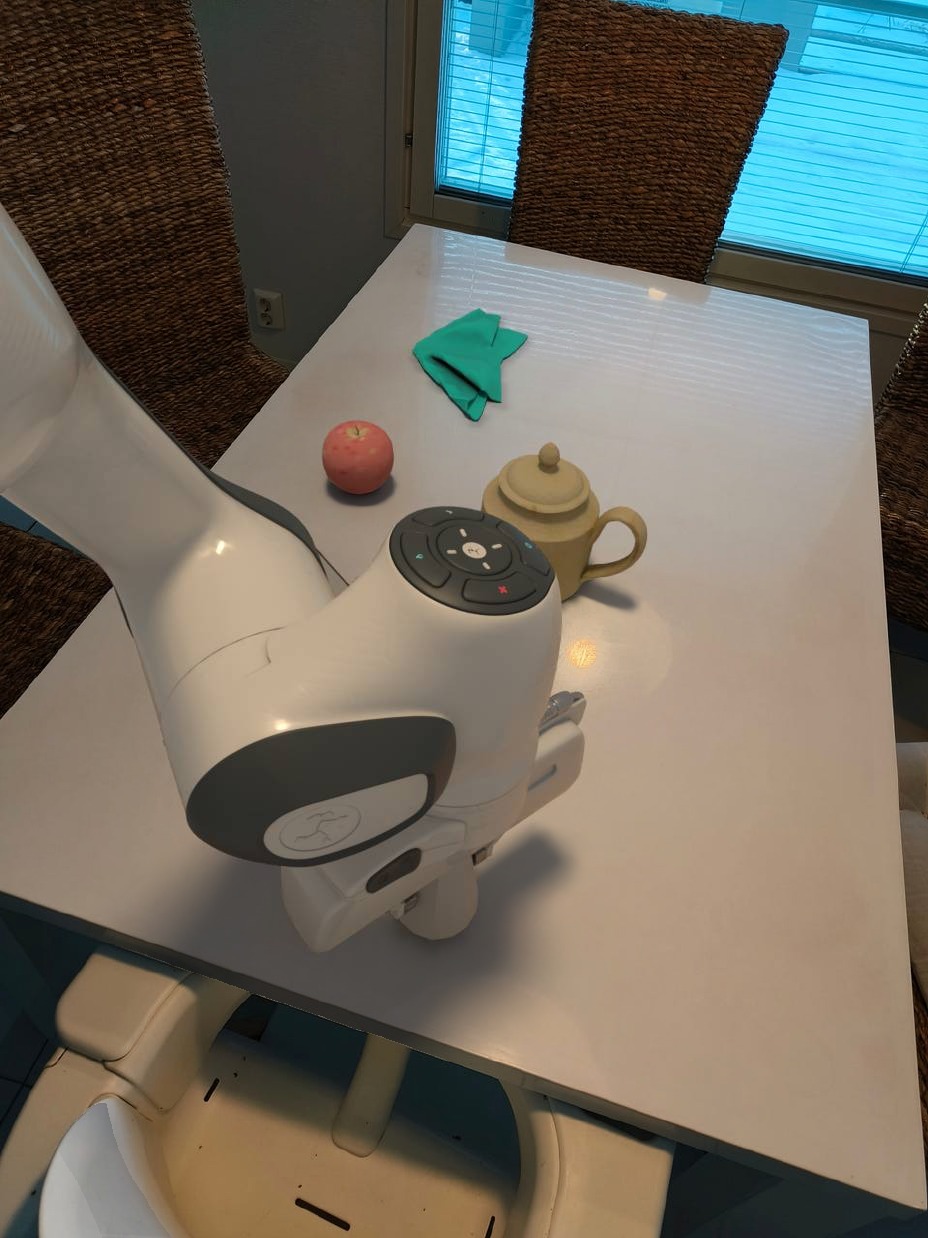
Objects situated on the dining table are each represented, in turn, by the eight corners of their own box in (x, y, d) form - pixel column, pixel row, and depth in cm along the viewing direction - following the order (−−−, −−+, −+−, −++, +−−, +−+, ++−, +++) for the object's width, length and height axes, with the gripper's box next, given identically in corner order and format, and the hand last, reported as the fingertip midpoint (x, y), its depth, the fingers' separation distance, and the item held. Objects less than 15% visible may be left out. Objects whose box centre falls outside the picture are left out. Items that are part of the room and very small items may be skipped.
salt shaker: (448, 968, 58) (461, 882, 48) (377, 924, 59) (377, 833, 50) (489, 898, 61) (510, 805, 52) (422, 858, 63) (429, 761, 53)
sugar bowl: (617, 537, 89) (651, 415, 78) (628, 614, 81) (667, 491, 70) (476, 526, 88) (489, 402, 77) (473, 603, 81) (488, 477, 70)
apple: (383, 514, 89) (383, 451, 83) (315, 501, 89) (310, 438, 83) (400, 472, 94) (402, 410, 88) (336, 460, 94) (333, 397, 88)
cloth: (443, 304, 120) (443, 289, 118) (537, 323, 118) (539, 308, 117) (381, 400, 103) (381, 384, 101) (491, 425, 101) (492, 408, 99)
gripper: (554, 646, 53) (526, 769, 63) (255, 815, 43) (279, 926, 53) (626, 715, 49) (584, 832, 60) (319, 913, 40) (331, 1011, 50)
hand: (437, 878), depth 56 cm, fingers open, 5 cm apart
